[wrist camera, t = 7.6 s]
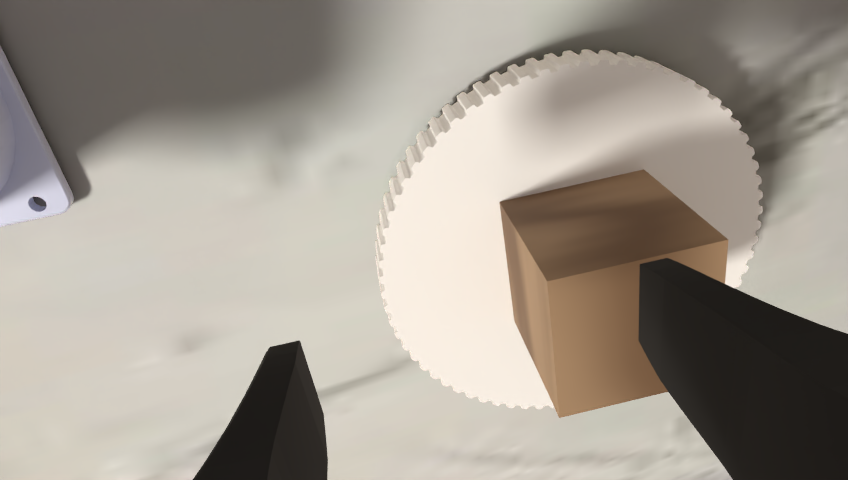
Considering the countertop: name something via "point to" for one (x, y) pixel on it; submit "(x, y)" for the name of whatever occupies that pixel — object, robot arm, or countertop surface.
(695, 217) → the walnut cube
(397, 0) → the countertop surface
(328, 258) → the countertop surface
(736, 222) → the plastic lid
